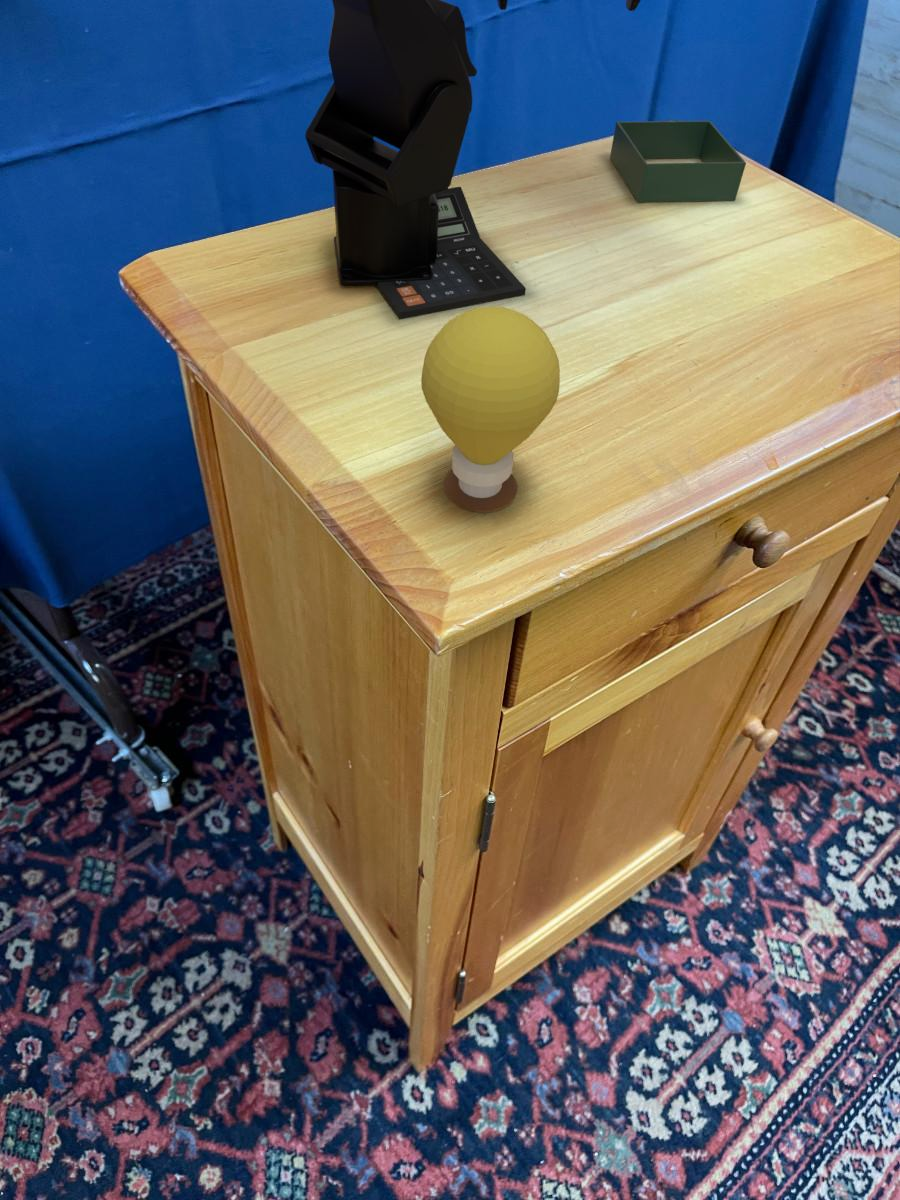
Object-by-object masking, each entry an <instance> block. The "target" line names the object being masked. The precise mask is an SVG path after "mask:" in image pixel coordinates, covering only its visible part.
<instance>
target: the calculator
mask: <svg viewBox="0 0 900 1200" xmlns="http://www.w3.org/2000/svg"><path fill="white" fill-rule="evenodd" d="M435 196H436V199H437V202H438V205H439V215H438V241H437V260H436V261H435V262H434V263H430V265H431V269H432V272H433V278H432V279H430V280H417V281H388V282H378V286H375V288H376V289H377V290H378V291H379V292H378V293H380V294H381V296H382V298H383V299H384V300H385V301H386V303H387V304H388V306H389V307H390V309H391V310H392V311H393V313H394V314H395V316H396V317H397V318H398V320H404V319H410V318H415V317H421V316H425V315H430V314H437V313H441V312H446V311H451V310H456V309H461V308H466V307H472V306H477V305H481V304H487V303H493V302H498V301H502V300H508V299H512V298H517V297H523V296H526V290H527V288H526V287H525V286H524V285H523V283H522V282H521V281H520V280H519V279H518V278H517V277H516V276H515V274H513V272H512V271H511V270H510V269H509V268H508V267H507V266H506V264H505V263H504V262H503V261H502V260H501V259H500V258H499V257H498V256H497V254H495V252H494V251H493V250H492V249H491V248H490V247H489V246H488V245H487V244H486V242H484V240H483V239H482V238H481V236H480V233H479V231H478V228H477V225H476V223H475V220H474V217H473V215H472V212H471V209H470V207H469V204H468V202H467V198H466V197H465V196H466V195H465V193H464V191H463V188H462V186H455V187H449V188H448V189H445V190H442V191H440V192H437V193H435ZM423 276H424V277H428V276H429V275H426V274H425V275H423Z"/></svg>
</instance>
